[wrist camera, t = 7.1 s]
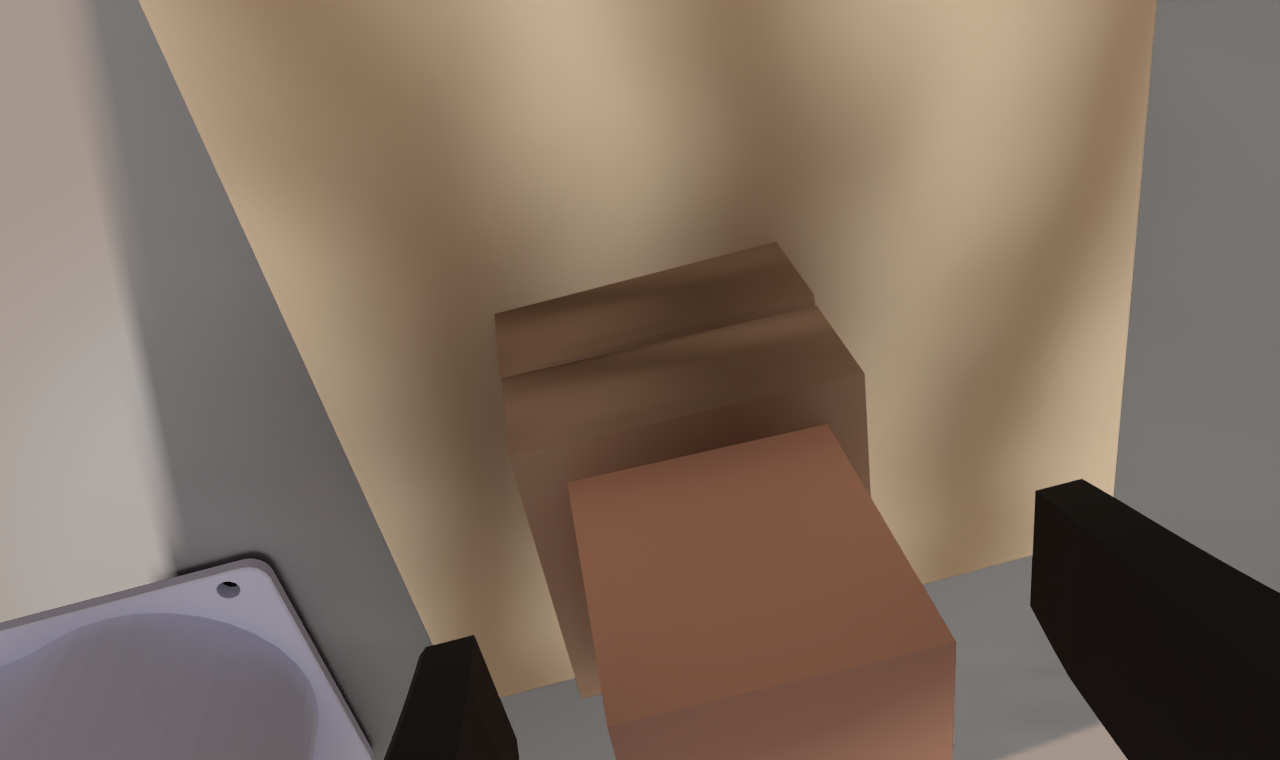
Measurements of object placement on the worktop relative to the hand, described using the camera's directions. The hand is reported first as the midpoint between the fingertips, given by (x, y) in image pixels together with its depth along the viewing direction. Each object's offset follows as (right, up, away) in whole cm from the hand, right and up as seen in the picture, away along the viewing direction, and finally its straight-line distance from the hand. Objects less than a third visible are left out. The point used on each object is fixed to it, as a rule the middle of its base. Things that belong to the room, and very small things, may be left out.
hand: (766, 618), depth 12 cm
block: (0, 0, +5) cm, 5 cm away
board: (0, +6, +9) cm, 11 cm away
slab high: (-1, +1, +7) cm, 7 cm away
